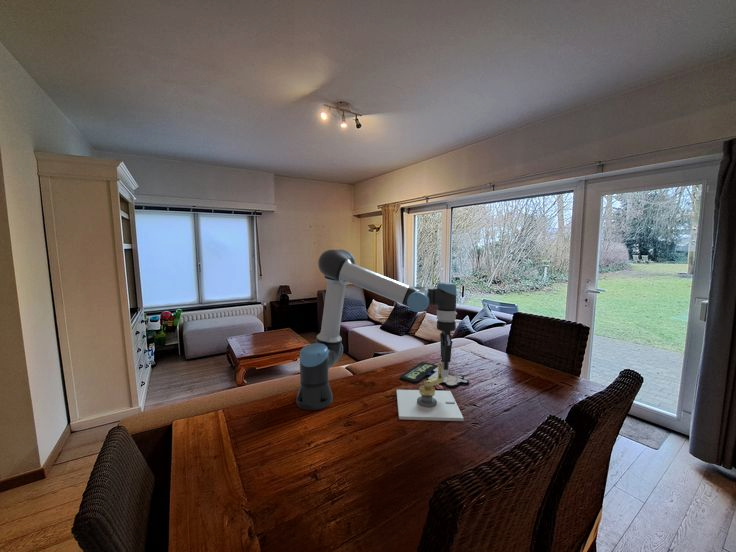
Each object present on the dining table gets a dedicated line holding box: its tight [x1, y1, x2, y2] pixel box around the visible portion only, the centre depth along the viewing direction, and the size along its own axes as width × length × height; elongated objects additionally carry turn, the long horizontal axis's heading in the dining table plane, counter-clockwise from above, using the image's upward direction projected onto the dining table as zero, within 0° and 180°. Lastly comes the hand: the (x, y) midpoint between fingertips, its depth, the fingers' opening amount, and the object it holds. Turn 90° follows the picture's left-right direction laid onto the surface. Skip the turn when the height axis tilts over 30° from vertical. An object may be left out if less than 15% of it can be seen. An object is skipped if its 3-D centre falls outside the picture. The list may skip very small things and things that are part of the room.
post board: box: [396, 389, 465, 422], centre depth 122 cm, size 24×22×5 cm
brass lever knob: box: [418, 361, 444, 397], centre depth 123 cm, size 13×6×11 cm, turn 126°
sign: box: [399, 361, 470, 391], centre depth 149 cm, size 27×2×30 cm
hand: (445, 376), depth 123 cm, fingers closed
